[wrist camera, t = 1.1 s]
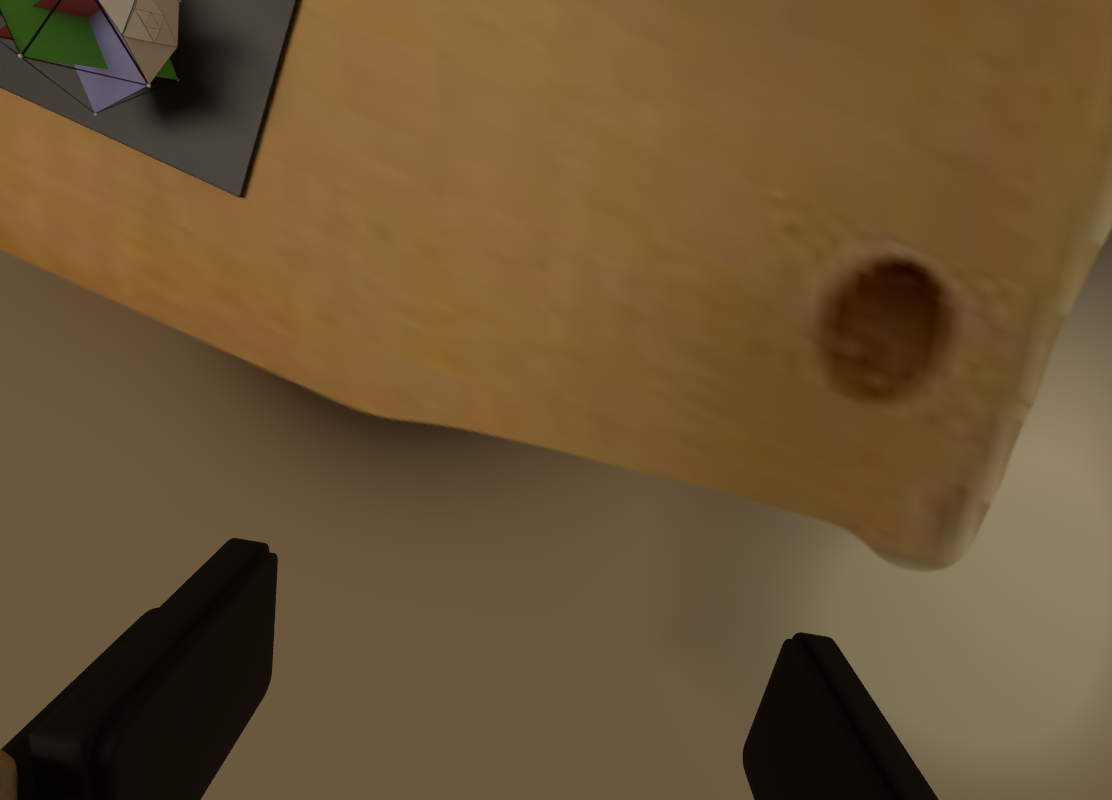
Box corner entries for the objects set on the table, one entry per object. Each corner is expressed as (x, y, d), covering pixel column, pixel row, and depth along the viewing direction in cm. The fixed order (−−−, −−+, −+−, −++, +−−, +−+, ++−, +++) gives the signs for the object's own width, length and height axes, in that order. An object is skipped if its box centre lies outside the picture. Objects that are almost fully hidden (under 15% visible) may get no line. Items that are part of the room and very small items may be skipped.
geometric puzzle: (36, 134, 27) (2, 75, 21) (-39, -30, 25) (-103, -153, 19) (201, 120, 31) (216, 66, 24) (147, -24, 29) (148, -124, 23)
